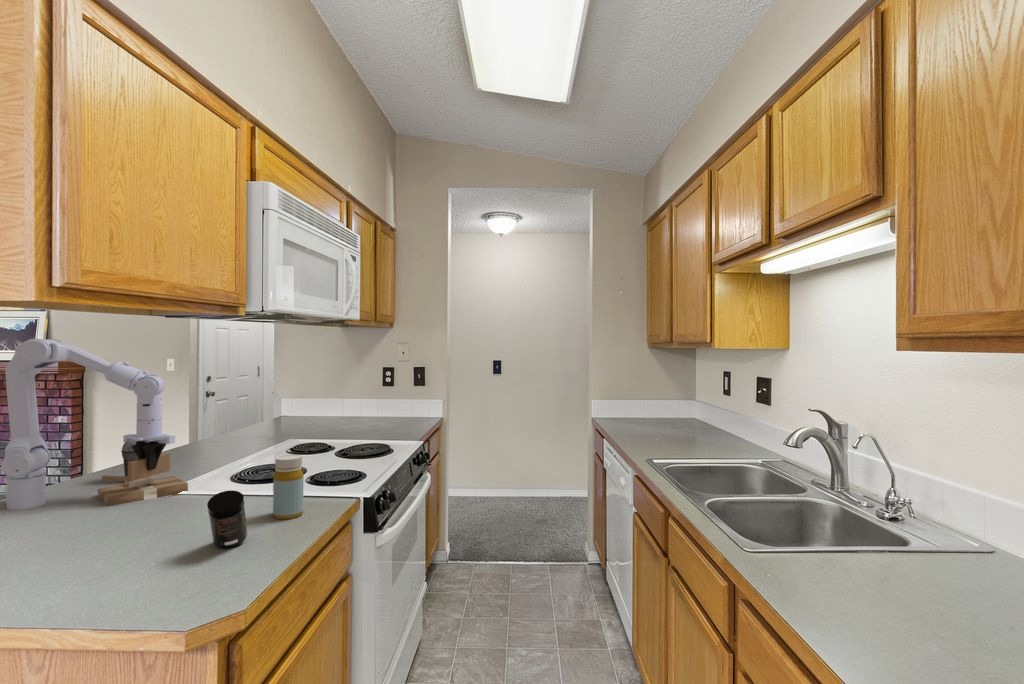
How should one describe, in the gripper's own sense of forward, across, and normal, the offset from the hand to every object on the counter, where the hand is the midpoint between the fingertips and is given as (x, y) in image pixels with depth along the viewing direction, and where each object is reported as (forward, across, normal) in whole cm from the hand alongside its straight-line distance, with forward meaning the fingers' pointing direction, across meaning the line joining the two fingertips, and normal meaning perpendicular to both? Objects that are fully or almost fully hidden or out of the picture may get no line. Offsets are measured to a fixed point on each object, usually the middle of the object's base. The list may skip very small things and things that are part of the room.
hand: (148, 469), depth 139 cm
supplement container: (+10, +43, -23) cm, 50 cm away
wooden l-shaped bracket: (+2, 0, 0) cm, 2 cm away
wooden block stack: (+9, 0, 0) cm, 9 cm away
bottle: (+10, +44, -2) cm, 45 cm away
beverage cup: (+10, -17, +12) cm, 23 cm away
